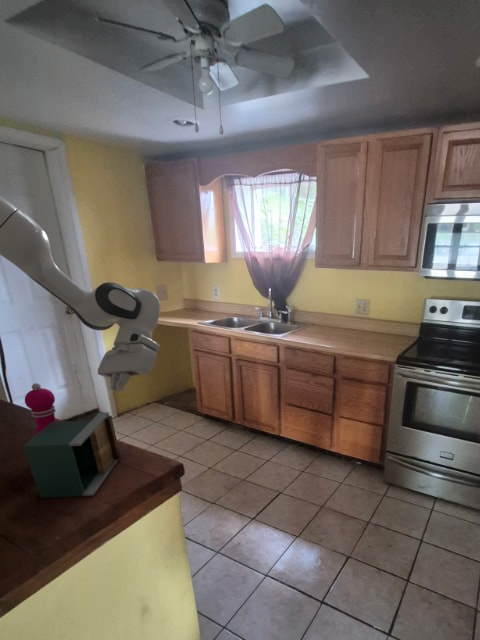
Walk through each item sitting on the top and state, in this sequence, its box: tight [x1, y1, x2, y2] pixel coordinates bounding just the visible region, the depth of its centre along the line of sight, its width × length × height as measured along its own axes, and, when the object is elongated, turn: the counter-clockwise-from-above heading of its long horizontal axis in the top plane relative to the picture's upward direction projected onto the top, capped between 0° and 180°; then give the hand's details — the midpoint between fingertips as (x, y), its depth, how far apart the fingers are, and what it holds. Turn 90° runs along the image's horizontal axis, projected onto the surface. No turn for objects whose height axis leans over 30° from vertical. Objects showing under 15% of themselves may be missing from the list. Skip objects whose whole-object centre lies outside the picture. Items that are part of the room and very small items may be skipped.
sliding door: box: [90, 416, 121, 473], centre depth 88 cm, size 2×7×11 cm, turn 4°
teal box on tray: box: [22, 411, 119, 499], centre depth 85 cm, size 11×15×13 cm
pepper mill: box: [24, 382, 58, 437], centre depth 92 cm, size 7×7×20 cm
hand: (116, 390), depth 99 cm, fingers closed
